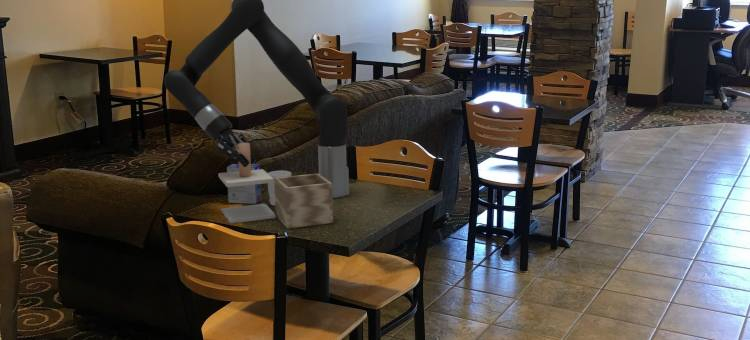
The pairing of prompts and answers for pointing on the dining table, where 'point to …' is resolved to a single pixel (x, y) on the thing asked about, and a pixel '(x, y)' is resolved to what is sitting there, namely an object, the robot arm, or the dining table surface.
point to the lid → (245, 172)
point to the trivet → (248, 213)
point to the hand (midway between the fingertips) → (250, 163)
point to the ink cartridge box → (244, 189)
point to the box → (303, 200)
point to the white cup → (271, 185)
